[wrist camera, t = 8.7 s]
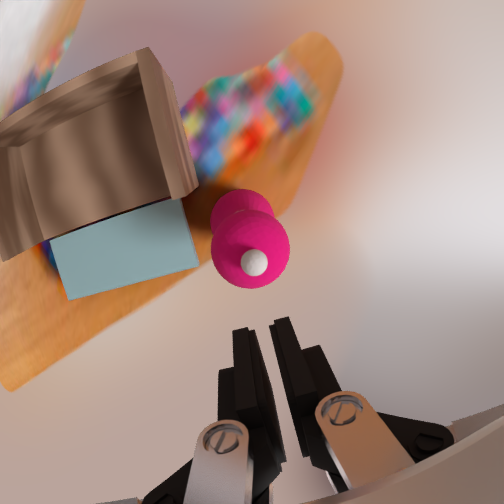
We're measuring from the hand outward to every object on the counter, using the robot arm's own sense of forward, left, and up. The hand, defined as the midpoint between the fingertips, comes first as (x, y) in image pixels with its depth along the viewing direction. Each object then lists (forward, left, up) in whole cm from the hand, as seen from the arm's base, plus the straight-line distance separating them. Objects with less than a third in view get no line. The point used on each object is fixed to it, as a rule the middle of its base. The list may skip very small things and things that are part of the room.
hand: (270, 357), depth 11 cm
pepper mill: (0, 0, -30) cm, 30 cm away
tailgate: (-15, +5, -25) cm, 29 cm away
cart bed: (-15, +12, -30) cm, 35 cm away
